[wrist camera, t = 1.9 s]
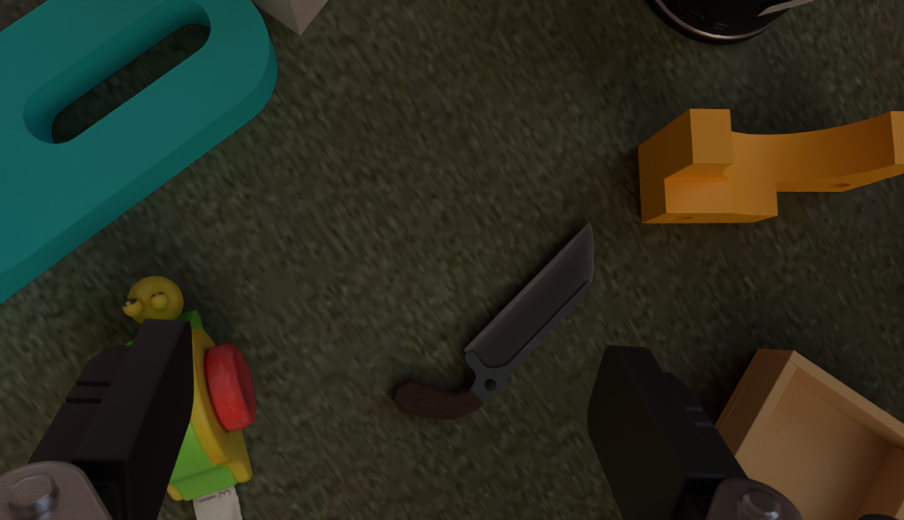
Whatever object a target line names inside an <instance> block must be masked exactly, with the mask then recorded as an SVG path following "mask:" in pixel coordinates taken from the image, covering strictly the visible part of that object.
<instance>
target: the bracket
mask: <svg viewBox="0 0 904 520" xmlns="http://www.w3.org/2000/svg"><path fill="white" fill-rule="evenodd" d="M189 24H201V25H205V26H207V27H209V28H211V32H210V36H209V39H208V41H207V42H206V44H205V45H204V46H203V47H202V48H201V49H200V50H199V51H197V52H196V53H194V54H193V55H192V56H190V57H189V58H187V59H186V60H184V61H183V62H182V63H180V64H179V65H177V66H176V67H175V68H173V69H172V70H170V71H169V72H168V73H166V74H165V75H163V76H162V77H160V78H159V79H158V80H156V81H155V82H153V83H152V84H151V85H149V86H148V87H146V88H145V89H144V90H142V91H141V92H139V93H138V94H136V95H135V96H134V97H132V98H131V99H129V100H128V101H127V102H125V103H124V104H122V105H121V106H119V107H118V108H117V109H115V110H114V111H112V112H111V113H110V114H108V115H107V116H105V117H104V118H103V119H101V120H100V121H98V122H97V123H95V124H94V125H93V126H91V127H90V128H88V129H87V130H86V131H84V132H83V133H81V134H80V135H78V136H77V137H76V138H74V139H72V140H70V141H68V142H65V143H60V144H54V141H53V139H52V133H51V132H52V124H53V121H54V119H55V117H56V116H57V115H58V113H59V112H60V111H61V110H63V109H64V108H65V107H67V106H68V105H70V104H71V103H73V102H74V101H75V100H77V99H78V98H80V97H81V96H83V95H84V94H85V93H87V92H88V91H90V90H91V89H93V88H94V87H96V86H97V85H98V84H100V83H101V82H103V81H104V80H106V79H107V78H108V77H110V76H111V75H113V74H114V73H116V72H117V71H118V70H120V69H121V68H123V67H124V66H126V65H127V64H128V63H130V62H131V61H133V60H134V59H136V58H137V57H138V56H140V55H141V54H143V53H144V52H146V51H147V50H148V49H150V48H151V47H153V46H154V45H156V44H157V43H159V42H160V41H161V40H163V39H164V38H166V37H167V36H169V35H170V34H171V33H173V32H174V31H176V30H177V29H179V28H180V27H182V26H185V25H189ZM277 70H278V66H277V58H276V53H275V50H274V47H273V44H272V41H271V39H270V36H269V33H268V31H267V28H266V25H265V23H264V20H263V18H262V16H261V14H260V13H259V11H258V10H257V8H256V7H255V5H254V4H253V3H252V2H251V0H48V1H46V2H45V3H43V4H42V5H40V6H39V7H37V8H36V9H34V10H33V11H31V12H30V13H28V14H27V15H25V16H24V17H22V18H21V19H19V20H18V21H16V22H15V23H13V24H12V25H10V26H9V27H7V28H6V29H4V30H3V31H1V32H0V304H1V303H3V302H4V301H5V300H7V299H8V298H9V297H11V296H12V295H14V294H15V293H16V292H18V291H19V290H20V289H22V288H23V287H24V286H26V285H27V284H29V283H30V282H31V281H33V280H34V279H35V278H37V277H38V276H39V275H41V274H42V273H43V272H45V271H46V270H48V269H49V268H50V267H52V266H53V265H54V264H56V263H57V262H58V261H60V260H61V259H62V258H64V257H65V256H67V255H68V254H69V253H71V252H72V251H73V250H75V249H76V248H77V247H79V246H80V245H82V244H83V243H84V242H86V241H87V240H88V239H90V238H91V237H92V236H94V235H95V234H96V233H98V232H99V231H101V230H102V229H103V228H105V227H106V226H107V225H109V224H110V223H111V222H113V221H114V220H115V219H117V218H118V217H120V216H121V215H122V214H124V213H125V212H126V211H128V210H129V209H130V208H132V207H133V206H135V205H136V204H137V203H139V202H140V201H141V200H143V199H144V198H145V197H147V196H148V195H149V194H151V193H152V192H154V191H155V190H156V189H158V188H159V187H160V186H162V185H163V184H164V183H166V182H167V181H168V180H170V179H171V178H173V177H174V176H175V175H177V174H178V173H179V172H181V171H182V170H183V169H185V168H186V167H188V166H189V165H190V164H192V163H193V162H194V161H196V160H197V159H198V158H200V157H201V156H202V155H204V154H205V153H207V152H208V151H209V150H211V149H212V148H213V147H215V146H216V145H217V144H219V143H220V142H221V141H223V140H224V139H226V138H227V137H228V136H230V135H231V134H232V133H234V132H235V131H236V130H238V129H239V128H241V127H242V126H243V125H245V124H246V123H247V122H249V121H250V120H251V119H253V118H254V117H255V116H256V115H257V114H258V113H259V112H260V111H261V110H262V109H263V108H264V107H265V105H266V104H267V102H268V101H269V99H270V97H271V95H272V93H273V91H274V88H275V84H276V80H277Z"/></svg>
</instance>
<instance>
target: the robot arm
mask: <svg viewBox="0 0 904 520" xmlns="http://www.w3.org/2000/svg"><path fill="white" fill-rule="evenodd" d="M647 1H648V2H649V4H650V5H651V7H652V8H653V10H654V11H655V12H656V13H657V15H658V16H659V17H660V18H661V19H662V20H663V21H664V22H665V23H666V24H668V25H669V26H670V27H672V28H673V29H674V30H676V31H677V32H679V33H681V34H682V35H684V36H686V37H688V38H691V39H694V40H696V41H700V42H703V43H708V44H717V45H727V44H735V43H739V42H743V41H746V40H749V39H751V38H753V37H755V36H757V35H759V34H761V33H762V32H763V31H765V30H766V29H767V28H769V27H770V26H771V25H773V24H774V23H775V22H776V21H777V20H778V19H780V18H781V17H782V15H783V14H784V13H785V12H786V11H788V10H789V9H790V8H791V7H793V6H797V5H800V4H804V3H808V2H811V1H813V0H647ZM193 402H194V370H193V347H192V328H191V324H190V322H189V321H183V320H165V319H145V320H144V322H143V323H142V325H141V327H140V329H139V331H138V333H137V335H136V337H135V338H134V340H133V342H132V344H131V345H114V344H111V345H110V346H109V347H107V348H106V349H105V350H103V351H102V352H100V353H99V354H98V355H96V356H95V357H94V358H92V359H91V360H90V361H88V363H87V365H86V366H85V368H84V370H83V371H82V373H81V375H80V376H79V378H78V380H77V381H76V386H73V388H72V390H71V391H70V393H69V395H68V396H67V398H66V403H63V405H62V406H61V408H60V410H59V411H58V413H57V415H56V416H55V418H54V420H53V421H52V423H51V425H50V426H49V428H48V430H47V431H46V433H45V435H44V436H43V438H42V440H41V441H40V443H39V445H38V446H37V448H36V450H35V451H34V453H33V455H32V456H31V458H30V460H29V461H28V463H27V464H26V465H23V466H20V467H17V468H15V469H13V470H10V471H8V472H6V473H4V474H3V475H1V476H0V520H157V517H158V514H159V511H160V508H161V505H162V502H163V499H164V497H165V494H166V491H167V488H168V485H169V482H170V479H171V476H172V473H173V470H174V467H175V464H176V461H177V458H178V455H179V452H180V449H181V446H182V443H183V441H184V438H185V435H186V432H187V429H188V426H189V423H190V419H191V415H192V409H193ZM587 425H588V432H589V436H590V439H591V441H592V444H593V446H594V449H595V451H596V453H597V456H598V458H599V461H600V463H601V466H602V468H603V471H604V473H605V476H606V478H607V481H608V483H609V485H610V488H611V490H612V493H613V495H614V498H615V500H616V503H617V505H618V508H619V510H620V512H621V515H622V517H623V520H803V518H802V516H801V514H800V512H799V511H798V509H797V508H796V507H795V506H794V504H793V503H792V502H791V501H790V500H789V499H788V498H787V497H785V496H784V495H783V494H782V493H780V492H779V491H777V490H776V489H774V488H772V487H771V486H769V485H767V484H764V483H762V482H759V481H757V480H753V479H749V478H748V476H747V475H746V473H745V472H744V470H743V469H742V467H741V465H740V464H739V462H738V461H737V459H736V458H735V456H734V455H733V453H732V452H731V450H730V449H729V447H728V445H727V444H726V442H725V441H724V439H723V438H722V436H721V435H720V433H719V432H718V430H717V429H716V428H714V427H713V422H712V421H711V419H710V418H709V416H708V415H707V413H706V412H703V407H702V405H701V404H700V402H699V401H698V399H697V398H696V396H695V395H694V393H693V392H692V390H691V389H690V388H688V387H687V386H686V385H685V384H684V383H682V382H681V381H680V380H679V379H678V378H676V377H675V376H674V375H673V374H672V373H663V371H662V370H661V368H660V366H659V365H658V363H657V361H656V360H655V358H654V357H653V355H652V353H651V352H650V350H649V349H648V348H646V347H632V346H614V345H610V346H608V347H607V348H606V350H605V352H604V354H603V357H602V361H601V364H600V368H599V371H598V374H597V378H596V381H595V385H594V388H593V392H592V395H591V398H590V402H589V406H588V412H587ZM858 520H899V519H897V518H894V517H891V516H887V515H882V514H867V515H864V516H862V517H860V518H859V519H858Z"/></svg>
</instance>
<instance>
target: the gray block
mask: <svg viewBox="0 0 904 520" xmlns="http://www.w3.org/2000/svg"><path fill="white" fill-rule="evenodd" d="M327 1H328V0H251V2H252V3H254V4H255V5H257V6H258V7H260V8H261V9H262V10H264V11H265V12H267V13H268V14H269V15H271V16H272V17H274V18H275V19H277V20H278V21H279V22H281V23H282V24H284V25H285V26H287V27H288V28H289V29H291V30H292V31H294V32H295V33H296V34H298V35H299V36H301V35H302V33H303V32H304V31H305V29H306V28H307V27H308V26H309V24H310V23H311V22H312V20H313V19H314V18H315V17H316V15H317V14H318V13H319V11H320V10H321V9H322V8H323V6H324V5H325V4H326V2H327Z"/></svg>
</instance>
